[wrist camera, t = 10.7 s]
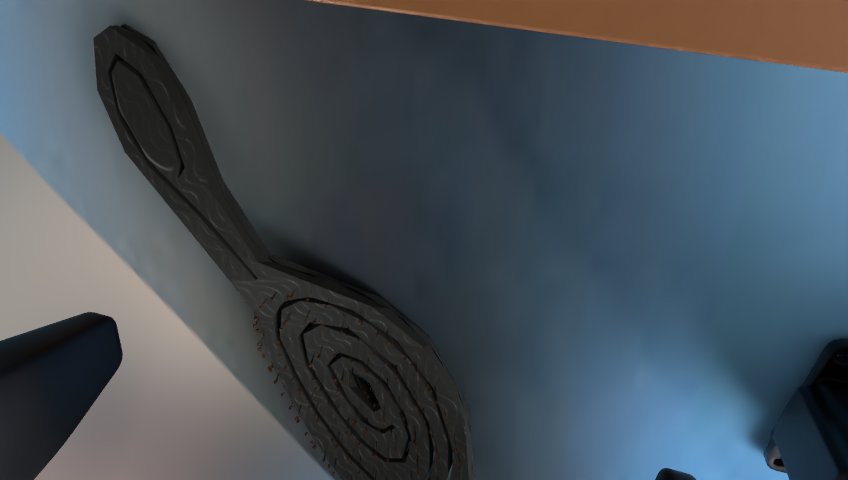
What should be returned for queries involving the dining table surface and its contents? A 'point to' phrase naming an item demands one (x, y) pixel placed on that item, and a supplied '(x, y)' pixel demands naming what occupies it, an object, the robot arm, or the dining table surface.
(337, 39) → the dining table surface
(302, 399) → the hairbrush
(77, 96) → the dining table surface
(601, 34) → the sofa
